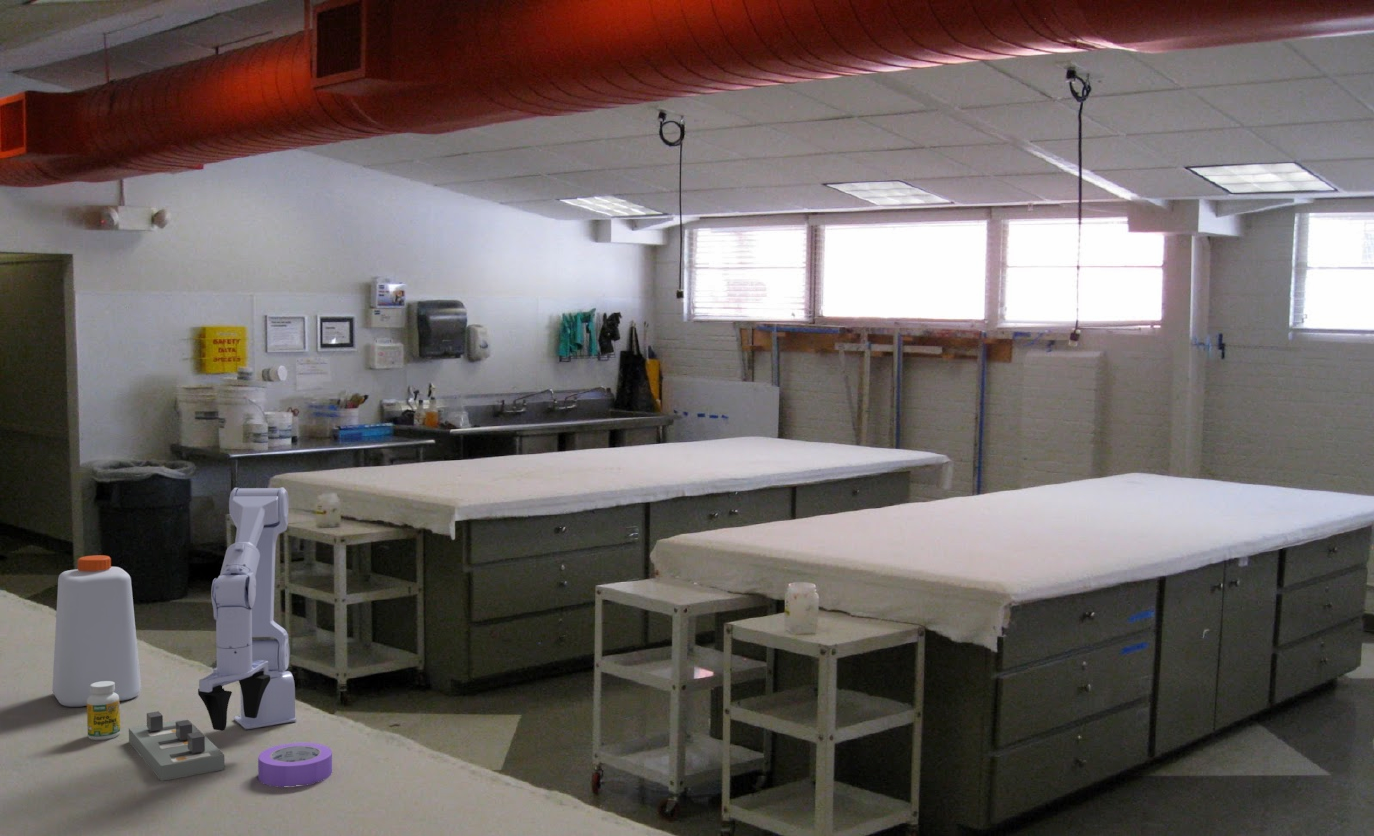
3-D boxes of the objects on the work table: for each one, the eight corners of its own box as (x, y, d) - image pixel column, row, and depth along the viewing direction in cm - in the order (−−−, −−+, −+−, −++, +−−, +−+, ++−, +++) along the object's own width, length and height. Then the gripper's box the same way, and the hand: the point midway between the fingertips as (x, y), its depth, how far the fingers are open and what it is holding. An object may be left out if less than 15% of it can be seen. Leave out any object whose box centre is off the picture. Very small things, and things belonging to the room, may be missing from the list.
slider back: (158, 724, 226) (158, 711, 226) (162, 729, 224) (162, 715, 224) (146, 726, 225) (146, 713, 225) (150, 731, 223) (150, 717, 222)
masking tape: (346, 768, 214) (346, 746, 213) (303, 792, 202) (303, 768, 202) (287, 760, 217) (287, 738, 217) (243, 783, 206) (242, 760, 206)
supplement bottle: (117, 729, 233) (116, 678, 232) (122, 737, 228) (121, 684, 228) (85, 734, 230) (84, 682, 229) (90, 742, 225) (88, 689, 225)
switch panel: (187, 731, 232) (187, 717, 231) (224, 769, 212) (224, 753, 212) (129, 741, 226) (128, 726, 226) (161, 780, 206) (161, 764, 206)
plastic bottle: (145, 699, 252) (142, 559, 250) (61, 711, 244) (58, 566, 242) (130, 681, 265) (127, 548, 263) (49, 692, 256) (46, 555, 254)
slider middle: (187, 733, 221) (187, 719, 221) (192, 738, 219) (192, 724, 219) (175, 735, 220) (175, 721, 220) (180, 740, 218) (179, 725, 218)
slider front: (200, 746, 215) (199, 731, 215) (204, 750, 212) (204, 736, 212) (187, 748, 214) (187, 733, 214) (192, 753, 211) (192, 738, 211)
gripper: (245, 633, 224) (246, 709, 225) (184, 651, 211) (185, 732, 211) (277, 637, 221) (278, 713, 222) (217, 655, 208) (218, 737, 209)
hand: (235, 723), depth 217 cm, fingers open, 7 cm apart
